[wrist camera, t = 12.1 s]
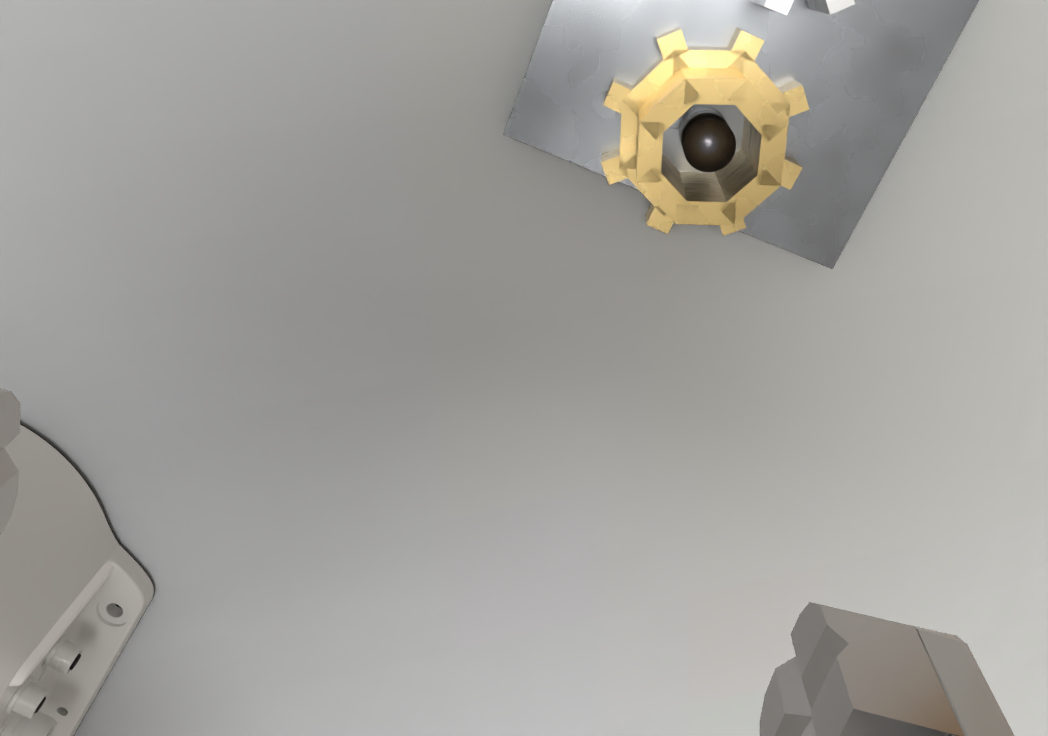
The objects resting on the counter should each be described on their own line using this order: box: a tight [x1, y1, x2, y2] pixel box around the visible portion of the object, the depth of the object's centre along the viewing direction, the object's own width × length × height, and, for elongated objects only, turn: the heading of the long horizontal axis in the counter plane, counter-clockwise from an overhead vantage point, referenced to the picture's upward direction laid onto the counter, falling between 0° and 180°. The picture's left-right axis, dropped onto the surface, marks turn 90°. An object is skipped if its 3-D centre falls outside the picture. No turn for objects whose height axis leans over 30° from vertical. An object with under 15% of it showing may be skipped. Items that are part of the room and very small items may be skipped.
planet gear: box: [601, 27, 809, 236], centre depth 34 cm, size 7×7×5 cm
